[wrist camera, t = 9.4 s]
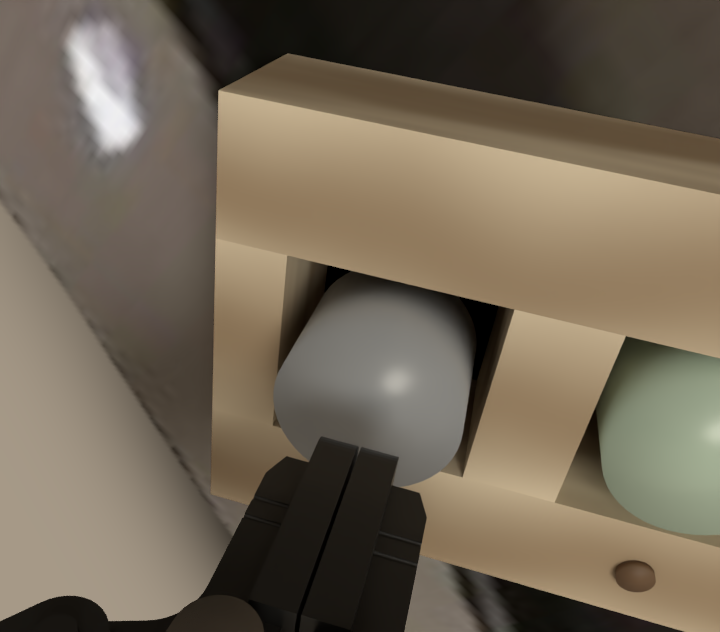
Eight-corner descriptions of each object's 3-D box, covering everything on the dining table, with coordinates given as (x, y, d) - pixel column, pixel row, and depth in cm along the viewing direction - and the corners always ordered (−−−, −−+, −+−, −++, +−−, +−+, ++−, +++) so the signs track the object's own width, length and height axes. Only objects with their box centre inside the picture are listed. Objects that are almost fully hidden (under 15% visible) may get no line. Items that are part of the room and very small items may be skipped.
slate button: (323, 247, 15) (280, 311, 13) (494, 287, 15) (484, 362, 12) (307, 382, 18) (267, 459, 15) (456, 421, 17) (441, 508, 14)
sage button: (625, 293, 15) (641, 366, 13) (805, 335, 15) (858, 419, 12) (573, 421, 18) (577, 505, 15) (729, 461, 17) (760, 555, 15)
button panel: (288, 53, 16) (214, 92, 12) (1354, 264, 13) (1651, 392, 10) (262, 405, 22) (207, 499, 18) (991, 601, 19) (1093, 757, 15)
